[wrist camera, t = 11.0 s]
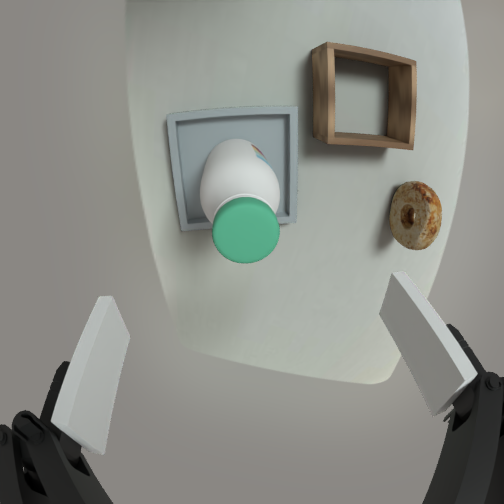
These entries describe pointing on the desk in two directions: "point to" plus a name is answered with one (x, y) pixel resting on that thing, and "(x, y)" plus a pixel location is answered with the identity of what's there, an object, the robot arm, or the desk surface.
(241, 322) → the desk surface
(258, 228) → the milk bottle
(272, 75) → the desk surface
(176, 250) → the desk surface
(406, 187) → the bagel
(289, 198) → the tray
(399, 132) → the open wooden box frame
